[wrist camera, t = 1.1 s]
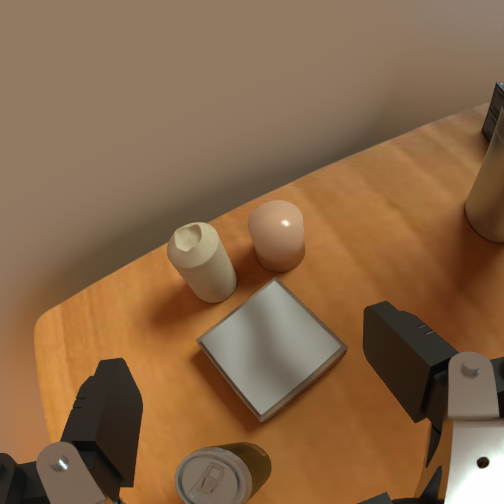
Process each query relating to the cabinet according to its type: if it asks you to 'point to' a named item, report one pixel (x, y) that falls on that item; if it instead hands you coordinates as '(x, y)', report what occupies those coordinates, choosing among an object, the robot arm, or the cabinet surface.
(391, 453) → the cabinet surface
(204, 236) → the candle
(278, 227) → the peach rounded cylinder
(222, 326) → the podium
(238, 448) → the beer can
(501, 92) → the small box
